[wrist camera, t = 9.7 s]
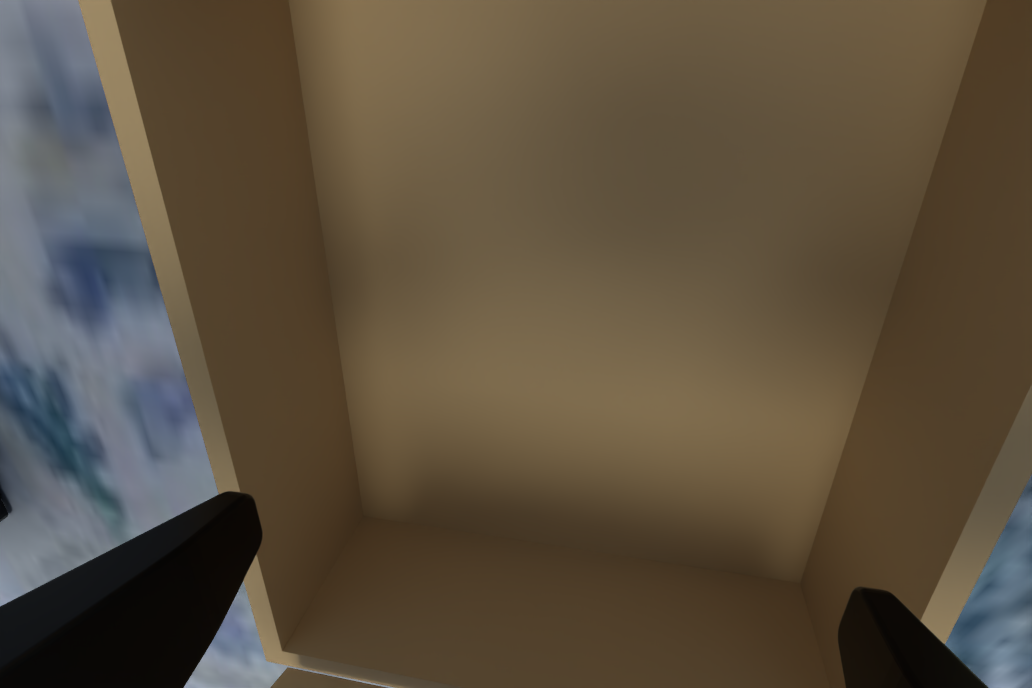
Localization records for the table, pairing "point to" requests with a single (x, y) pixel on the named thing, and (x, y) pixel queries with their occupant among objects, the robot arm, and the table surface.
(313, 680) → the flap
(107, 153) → the table surface
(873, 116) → the carton
